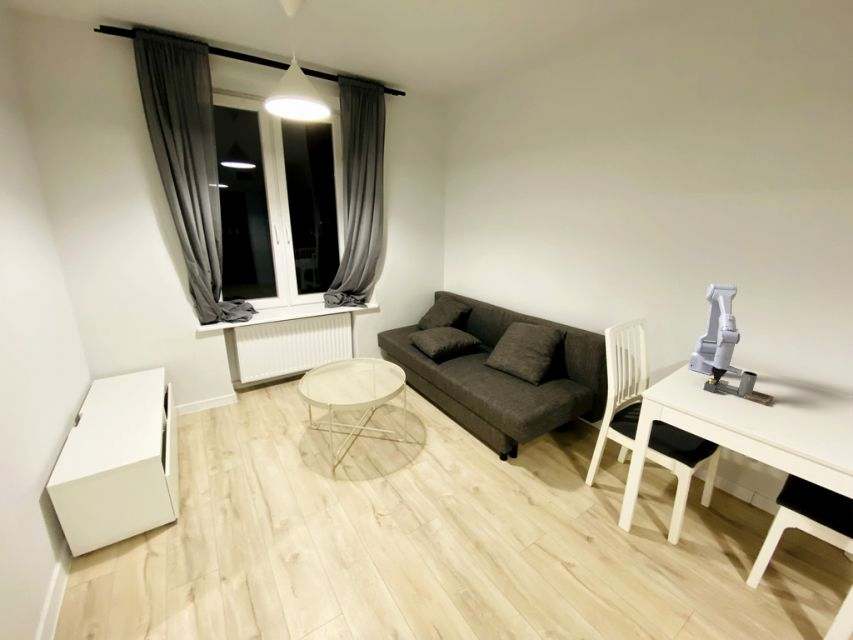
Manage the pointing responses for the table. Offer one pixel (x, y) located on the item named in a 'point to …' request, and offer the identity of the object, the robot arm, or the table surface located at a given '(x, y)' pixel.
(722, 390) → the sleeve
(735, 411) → the table surface
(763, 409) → the table surface
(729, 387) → the grey notched block
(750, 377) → the planter
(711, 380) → the brass knob
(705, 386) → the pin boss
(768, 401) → the frame
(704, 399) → the table surface
